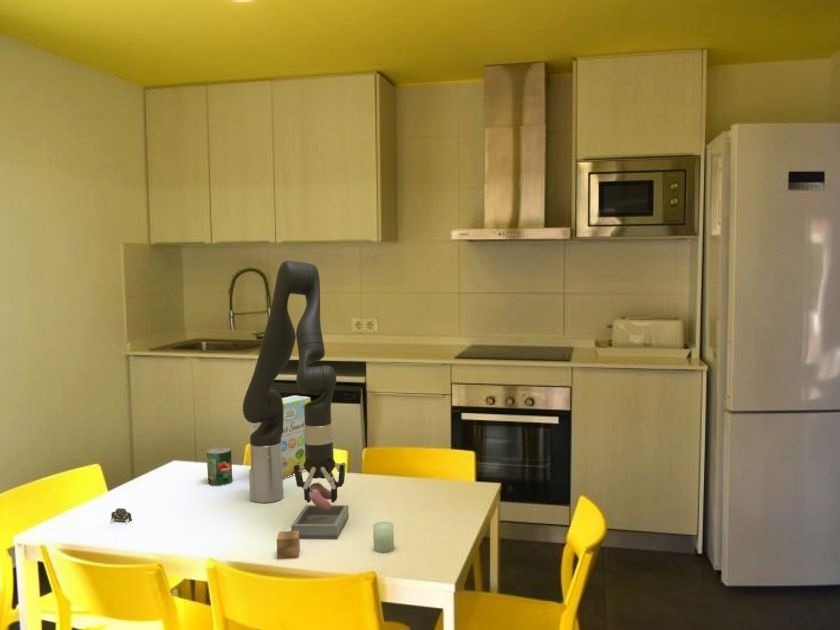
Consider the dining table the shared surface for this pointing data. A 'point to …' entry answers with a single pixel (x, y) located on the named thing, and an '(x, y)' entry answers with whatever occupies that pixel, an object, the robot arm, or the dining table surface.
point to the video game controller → (320, 496)
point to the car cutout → (121, 516)
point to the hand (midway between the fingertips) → (321, 501)
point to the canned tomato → (219, 466)
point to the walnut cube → (288, 544)
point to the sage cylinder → (383, 537)
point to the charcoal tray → (321, 522)
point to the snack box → (291, 433)
